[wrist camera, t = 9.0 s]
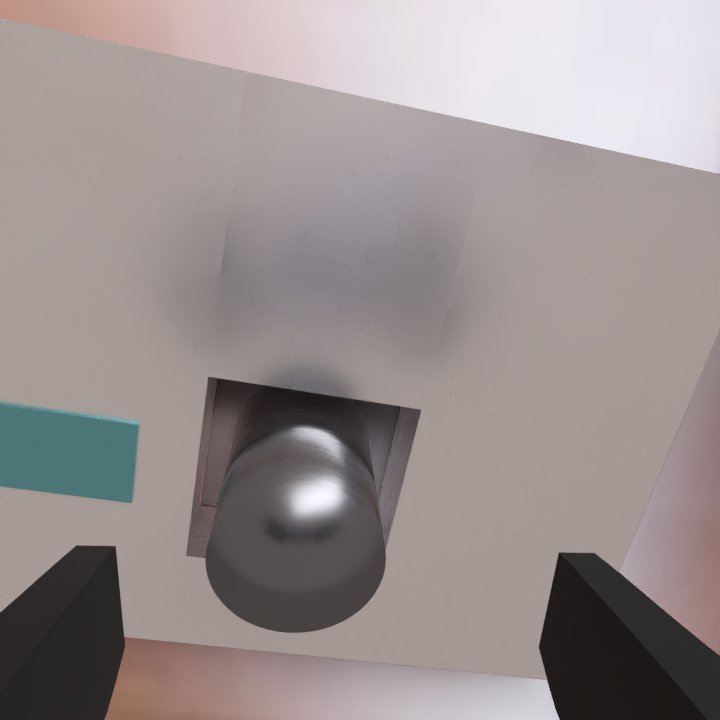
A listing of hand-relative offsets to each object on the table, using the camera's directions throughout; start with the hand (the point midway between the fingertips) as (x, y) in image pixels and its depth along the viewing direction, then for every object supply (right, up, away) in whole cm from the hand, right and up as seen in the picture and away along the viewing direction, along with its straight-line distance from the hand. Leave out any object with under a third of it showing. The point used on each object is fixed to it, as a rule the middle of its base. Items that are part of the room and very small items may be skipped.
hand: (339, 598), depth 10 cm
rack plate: (-1, +3, +9) cm, 9 cm away
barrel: (-1, +2, +9) cm, 10 cm away
